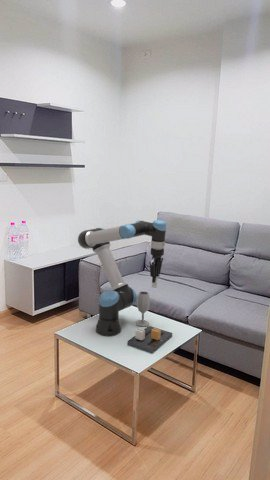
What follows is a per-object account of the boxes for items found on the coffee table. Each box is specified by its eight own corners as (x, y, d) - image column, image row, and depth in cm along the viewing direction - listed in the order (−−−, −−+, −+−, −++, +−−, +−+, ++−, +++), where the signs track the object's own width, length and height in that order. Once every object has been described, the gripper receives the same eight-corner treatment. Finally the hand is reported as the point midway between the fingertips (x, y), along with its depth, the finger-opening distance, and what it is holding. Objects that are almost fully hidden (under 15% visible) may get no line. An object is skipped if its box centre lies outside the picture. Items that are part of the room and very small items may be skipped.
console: (127, 344, 203) (127, 340, 202) (148, 329, 223) (149, 325, 222) (152, 353, 195) (152, 349, 194) (172, 336, 215) (172, 332, 214)
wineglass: (148, 327, 225) (149, 295, 220) (134, 326, 226) (135, 294, 222) (150, 322, 233) (151, 291, 229) (137, 320, 235) (138, 289, 230)
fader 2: (151, 338, 206) (151, 329, 205) (153, 336, 208) (154, 327, 207) (157, 340, 204) (158, 331, 202) (160, 338, 206) (160, 329, 205)
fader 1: (135, 338, 205) (135, 329, 204) (138, 336, 207) (138, 327, 206) (141, 340, 203) (142, 331, 201) (144, 338, 205) (145, 329, 204)
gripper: (158, 251, 197) (154, 292, 203) (168, 247, 208) (165, 285, 213) (146, 248, 201) (143, 288, 206) (157, 244, 212) (153, 282, 217)
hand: (154, 287), depth 210 cm, fingers closed
